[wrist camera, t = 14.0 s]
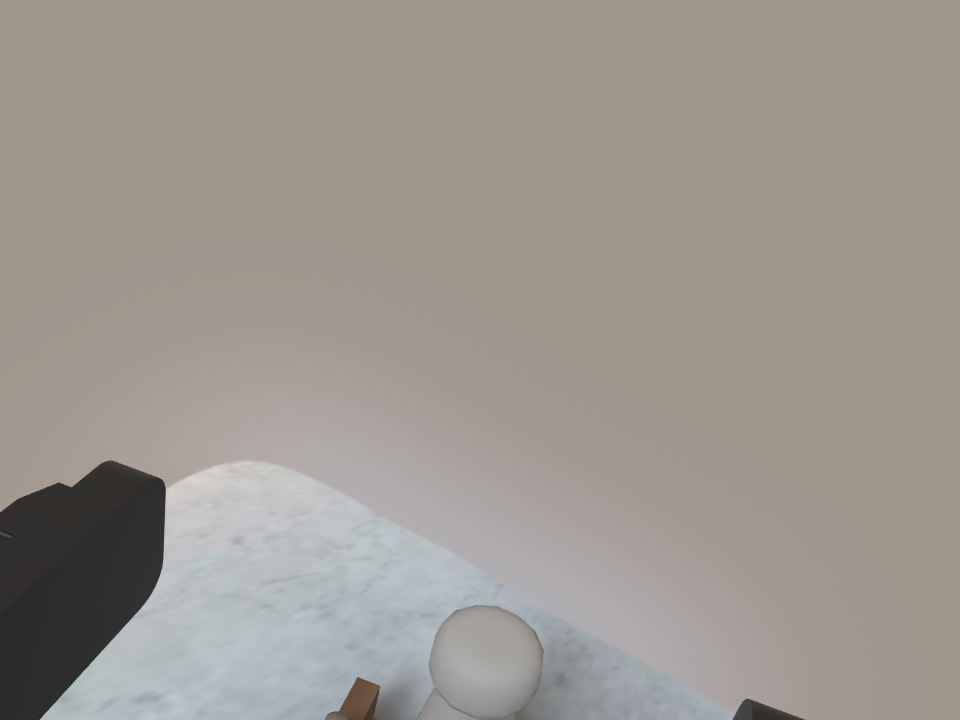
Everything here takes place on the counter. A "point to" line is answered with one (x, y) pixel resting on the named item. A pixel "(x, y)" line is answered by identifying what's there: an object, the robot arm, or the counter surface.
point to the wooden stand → (358, 702)
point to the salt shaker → (482, 666)
